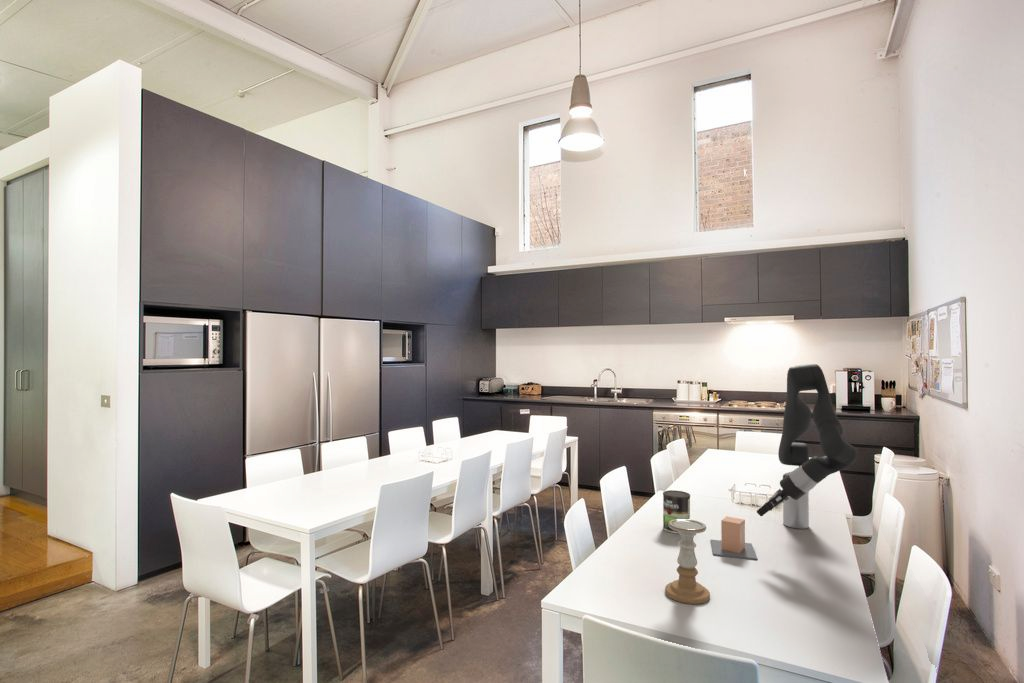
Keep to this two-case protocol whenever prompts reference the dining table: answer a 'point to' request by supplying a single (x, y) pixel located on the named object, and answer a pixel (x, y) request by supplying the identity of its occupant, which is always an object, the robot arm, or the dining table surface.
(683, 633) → the dining table surface
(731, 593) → the dining table surface
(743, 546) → the tall peach brick
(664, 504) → the coffee can
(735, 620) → the dining table surface
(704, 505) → the dining table surface
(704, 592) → the candle holder
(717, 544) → the charcoal mat
